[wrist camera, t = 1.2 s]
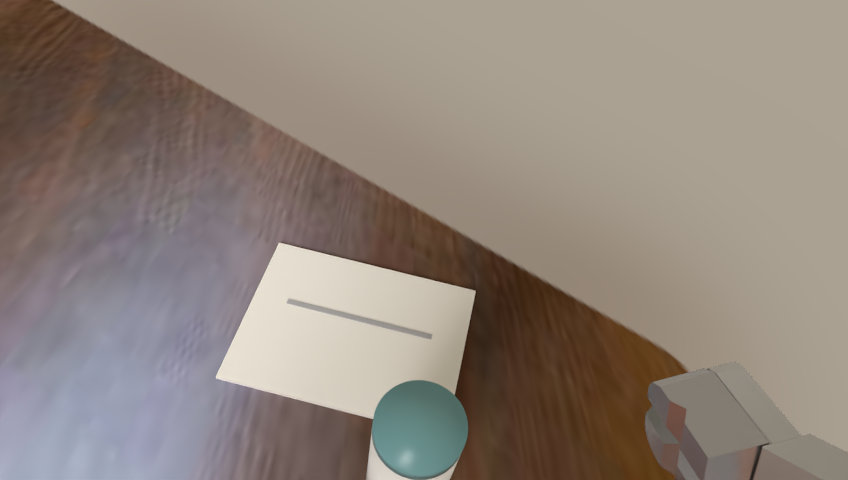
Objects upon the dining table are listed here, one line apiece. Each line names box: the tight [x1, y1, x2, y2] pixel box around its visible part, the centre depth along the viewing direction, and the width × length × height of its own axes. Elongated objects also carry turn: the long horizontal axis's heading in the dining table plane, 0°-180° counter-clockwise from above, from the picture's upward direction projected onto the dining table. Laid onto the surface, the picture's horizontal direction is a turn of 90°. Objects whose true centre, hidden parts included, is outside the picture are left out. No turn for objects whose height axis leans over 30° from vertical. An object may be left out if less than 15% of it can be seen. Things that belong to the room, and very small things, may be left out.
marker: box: [366, 380, 468, 480], centre depth 34 cm, size 4×4×13 cm
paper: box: [216, 243, 476, 419], centre depth 46 cm, size 16×12×1 cm
